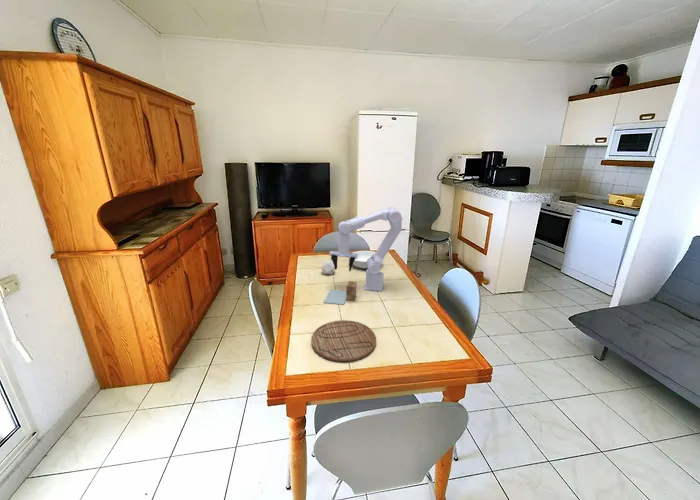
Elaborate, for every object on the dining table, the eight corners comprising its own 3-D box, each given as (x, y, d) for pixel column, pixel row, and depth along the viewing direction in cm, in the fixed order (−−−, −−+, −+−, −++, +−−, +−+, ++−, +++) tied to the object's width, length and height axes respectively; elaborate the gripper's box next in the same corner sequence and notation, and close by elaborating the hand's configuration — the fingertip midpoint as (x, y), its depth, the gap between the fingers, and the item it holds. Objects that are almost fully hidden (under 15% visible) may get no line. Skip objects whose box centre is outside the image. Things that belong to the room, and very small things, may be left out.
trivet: (386, 356, 109) (386, 351, 109) (318, 369, 102) (317, 364, 102) (363, 320, 132) (363, 316, 131) (306, 329, 125) (306, 325, 125)
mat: (348, 292, 157) (348, 291, 157) (343, 304, 144) (343, 304, 144) (330, 290, 159) (330, 289, 159) (323, 303, 146) (323, 302, 146)
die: (329, 278, 175) (338, 264, 175) (317, 270, 175) (325, 256, 175) (330, 277, 183) (338, 264, 184) (318, 270, 183) (326, 257, 184)
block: (356, 296, 153) (356, 281, 150) (354, 301, 147) (354, 287, 145) (348, 295, 153) (348, 281, 151) (346, 301, 148) (346, 286, 145)
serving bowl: (360, 258, 207) (360, 248, 205) (387, 264, 195) (387, 254, 193) (342, 267, 191) (342, 256, 189) (370, 274, 179) (370, 264, 177)
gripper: (327, 245, 152) (327, 270, 156) (356, 248, 149) (354, 274, 153) (331, 242, 158) (331, 266, 163) (358, 244, 155) (357, 269, 160)
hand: (343, 269), depth 158 cm, fingers open, 7 cm apart
